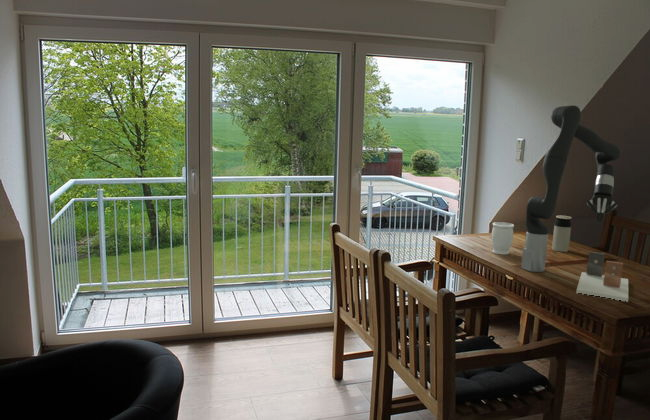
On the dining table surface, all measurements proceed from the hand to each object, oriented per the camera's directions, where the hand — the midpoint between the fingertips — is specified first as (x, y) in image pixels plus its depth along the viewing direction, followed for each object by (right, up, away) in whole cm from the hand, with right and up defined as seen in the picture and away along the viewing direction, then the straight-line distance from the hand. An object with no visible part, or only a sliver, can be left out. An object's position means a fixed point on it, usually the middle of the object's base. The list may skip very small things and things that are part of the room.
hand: (599, 221), depth 241 cm
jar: (-34, -17, +33) cm, 50 cm away
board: (-8, -27, -19) cm, 34 cm away
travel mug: (+1, -16, +42) cm, 45 cm away
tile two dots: (-7, -26, -23) cm, 35 cm away
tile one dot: (-7, -23, -8) cm, 26 cm away
